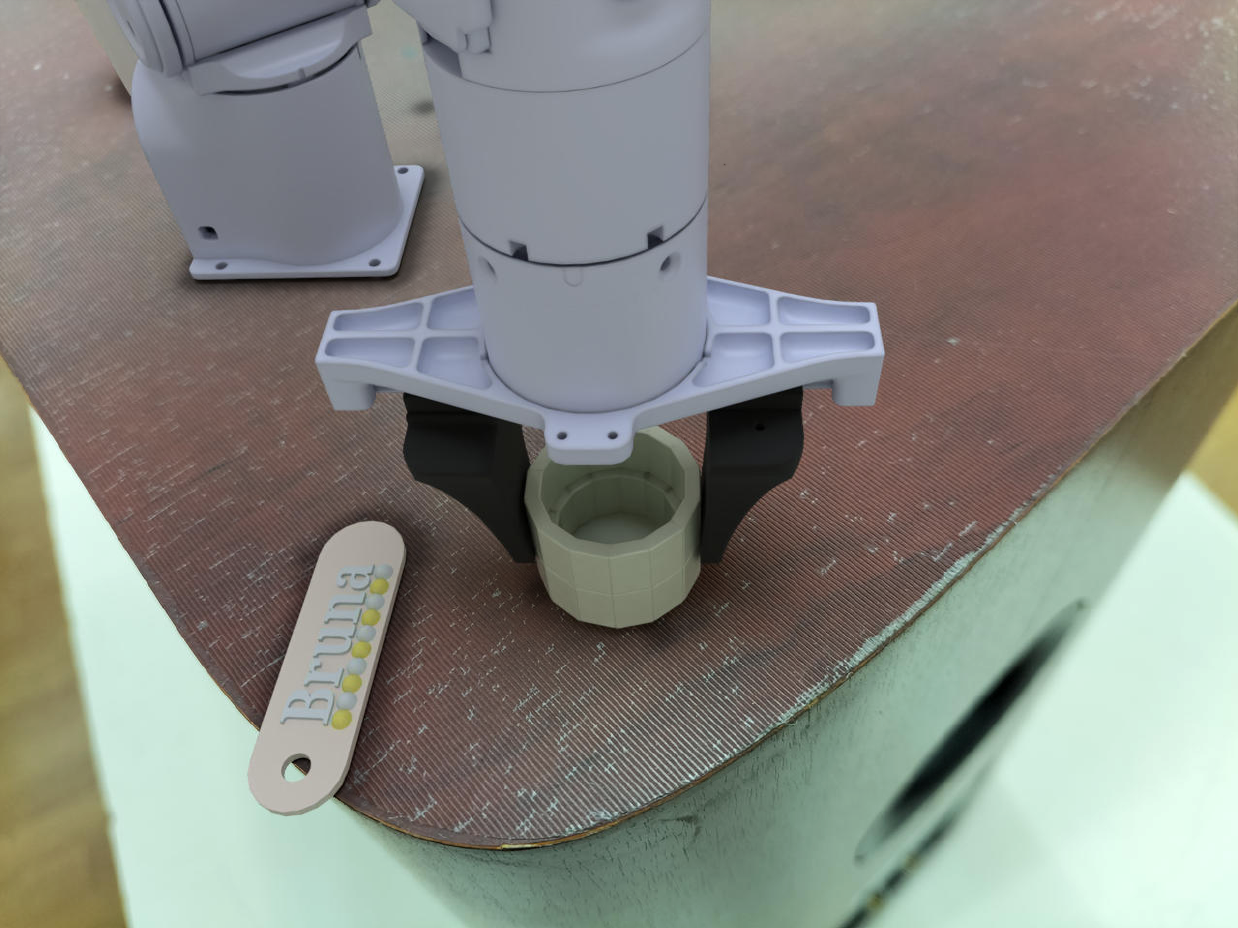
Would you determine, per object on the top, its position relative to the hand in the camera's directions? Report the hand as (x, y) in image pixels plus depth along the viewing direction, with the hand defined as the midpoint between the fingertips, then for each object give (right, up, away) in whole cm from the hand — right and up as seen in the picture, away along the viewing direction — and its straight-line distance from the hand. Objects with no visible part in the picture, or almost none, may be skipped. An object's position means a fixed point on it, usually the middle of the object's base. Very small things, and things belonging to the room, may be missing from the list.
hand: (616, 538), depth 33 cm
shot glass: (-25, +24, +24) cm, 43 cm away
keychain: (-7, -4, -1) cm, 8 cm away
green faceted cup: (0, -1, +1) cm, 2 cm away
